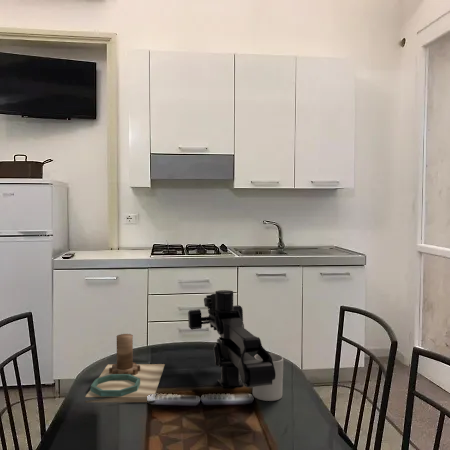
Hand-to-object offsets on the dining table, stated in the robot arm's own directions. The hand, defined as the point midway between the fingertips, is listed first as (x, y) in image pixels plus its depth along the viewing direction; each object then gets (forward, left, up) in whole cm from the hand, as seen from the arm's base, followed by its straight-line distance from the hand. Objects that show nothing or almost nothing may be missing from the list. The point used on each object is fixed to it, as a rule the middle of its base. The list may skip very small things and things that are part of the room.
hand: (209, 312), depth 167 cm
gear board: (-17, +30, -16) cm, 38 cm away
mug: (-35, -8, -16) cm, 40 cm away
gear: (-10, +30, -15) cm, 35 cm away
